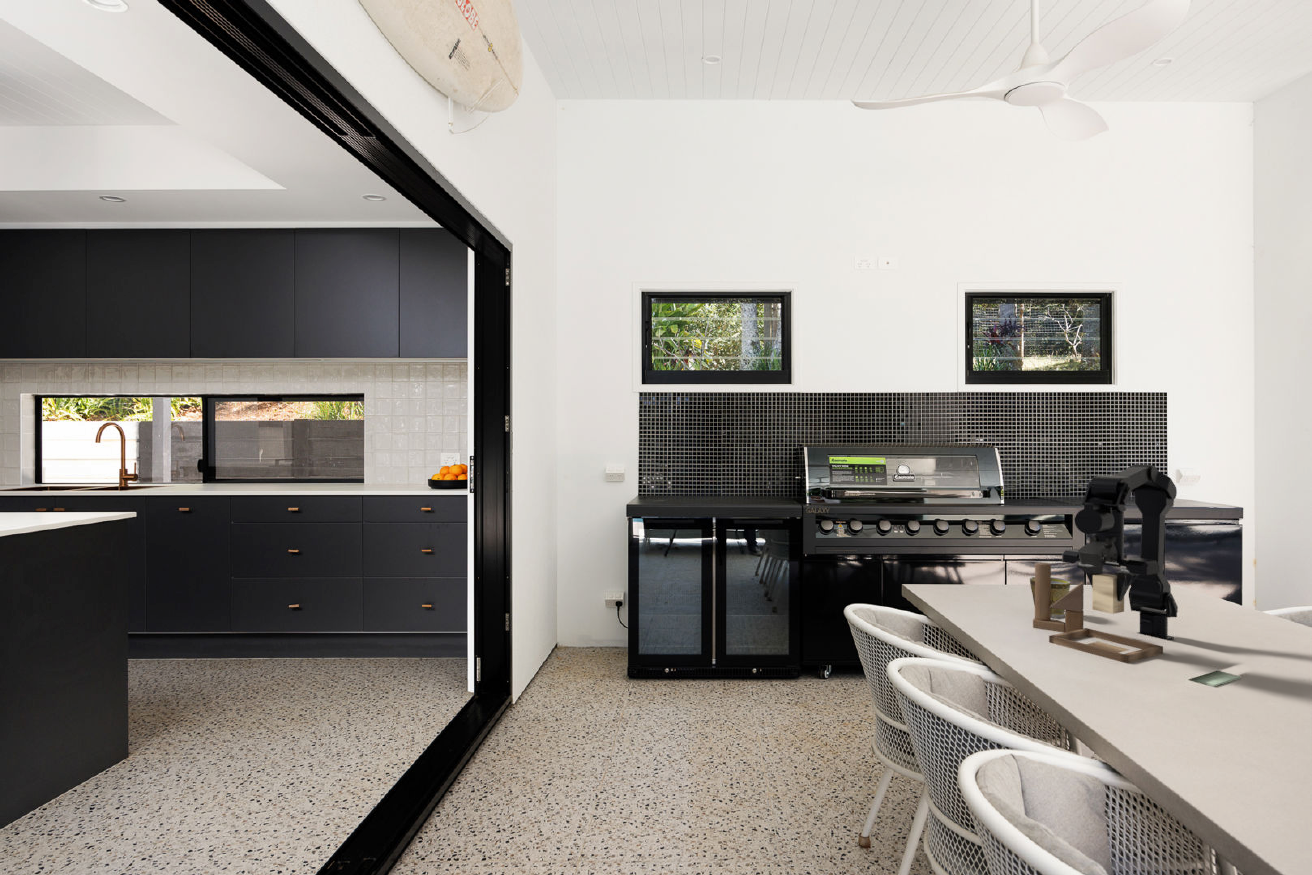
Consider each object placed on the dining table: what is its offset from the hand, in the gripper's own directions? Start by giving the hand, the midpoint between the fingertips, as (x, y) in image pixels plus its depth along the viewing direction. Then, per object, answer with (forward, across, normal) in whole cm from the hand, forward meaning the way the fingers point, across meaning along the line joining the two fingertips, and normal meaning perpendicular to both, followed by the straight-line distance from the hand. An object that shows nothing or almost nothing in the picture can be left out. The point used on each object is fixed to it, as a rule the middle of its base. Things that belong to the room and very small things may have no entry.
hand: (1108, 598), depth 159 cm
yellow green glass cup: (+13, -30, +24) cm, 40 cm away
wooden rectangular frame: (+13, -1, 0) cm, 13 cm away
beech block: (+3, 0, 0) cm, 3 cm away
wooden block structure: (+13, -15, +5) cm, 20 cm away
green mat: (+13, +16, +3) cm, 21 cm away
